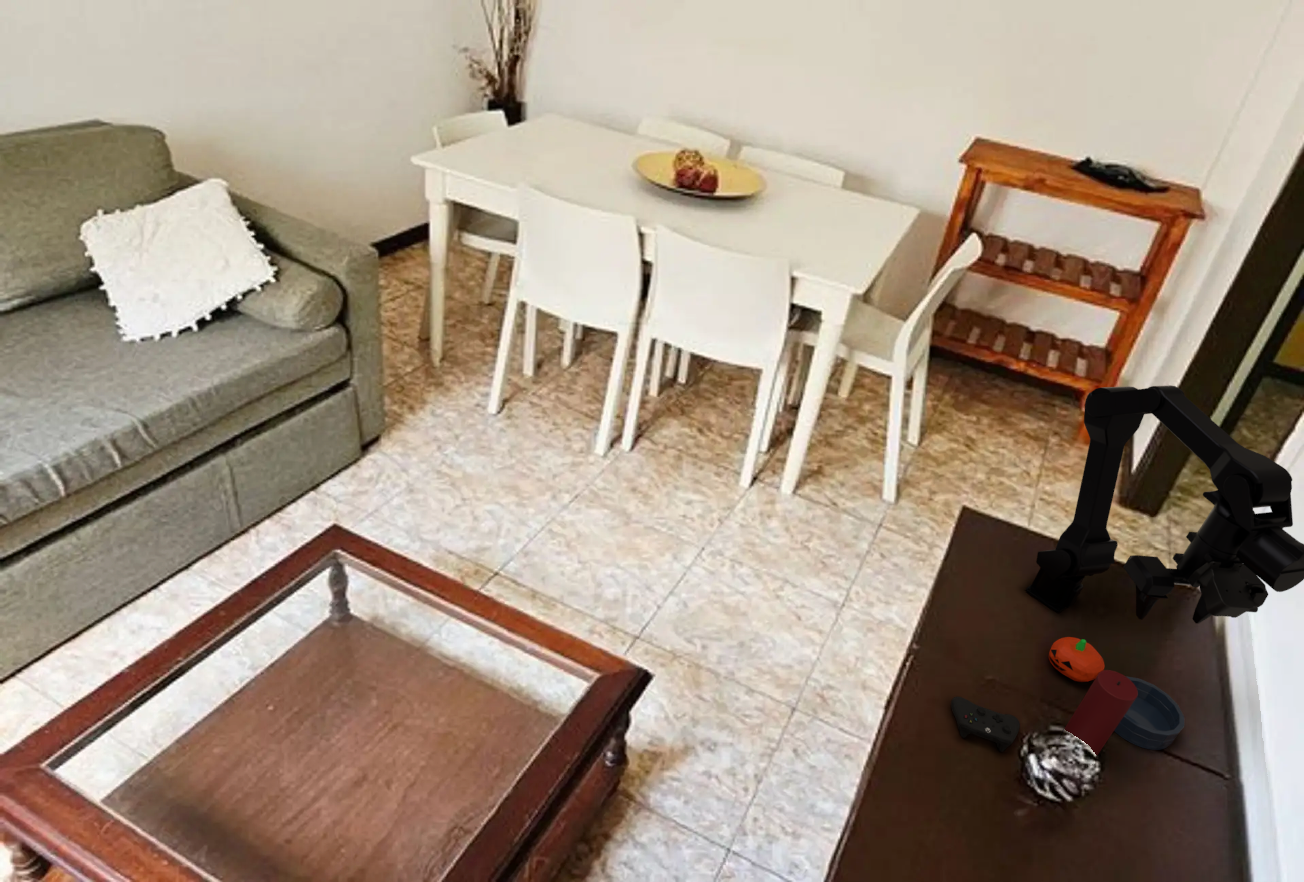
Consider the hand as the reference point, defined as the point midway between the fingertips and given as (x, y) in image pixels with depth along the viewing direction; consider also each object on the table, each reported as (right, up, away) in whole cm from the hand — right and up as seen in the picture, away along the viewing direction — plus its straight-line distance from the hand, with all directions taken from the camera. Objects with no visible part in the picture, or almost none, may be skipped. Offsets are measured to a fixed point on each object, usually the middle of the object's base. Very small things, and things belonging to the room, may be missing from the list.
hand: (1167, 619), depth 130 cm
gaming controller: (-30, -15, -5) cm, 34 cm away
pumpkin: (-11, -10, +7) cm, 16 cm away
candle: (-16, -17, -5) cm, 24 cm away
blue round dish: (-4, -15, +1) cm, 16 cm away
